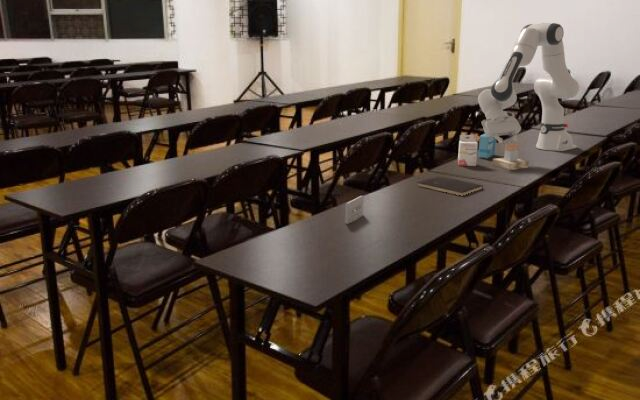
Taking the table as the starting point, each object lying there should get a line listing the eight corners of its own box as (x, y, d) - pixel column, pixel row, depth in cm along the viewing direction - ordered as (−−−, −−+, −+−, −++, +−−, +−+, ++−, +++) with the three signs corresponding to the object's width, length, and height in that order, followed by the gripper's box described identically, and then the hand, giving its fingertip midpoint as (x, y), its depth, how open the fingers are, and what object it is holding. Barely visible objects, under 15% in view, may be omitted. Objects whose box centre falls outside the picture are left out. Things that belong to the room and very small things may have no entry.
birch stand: (511, 162, 297) (511, 156, 296) (528, 167, 286) (528, 161, 285) (492, 164, 292) (492, 159, 291) (509, 170, 282) (509, 164, 281)
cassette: (360, 214, 221) (360, 195, 219) (364, 215, 220) (364, 195, 218) (344, 223, 212) (344, 203, 209) (348, 224, 211) (348, 204, 208)
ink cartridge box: (458, 165, 291) (460, 136, 287) (457, 163, 296) (459, 134, 291) (476, 166, 290) (478, 136, 286) (474, 163, 295) (476, 134, 290)
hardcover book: (461, 197, 242) (462, 192, 241) (417, 187, 258) (417, 182, 257) (482, 189, 252) (483, 184, 252) (438, 180, 268) (438, 175, 267)
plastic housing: (511, 158, 291) (513, 143, 289) (517, 160, 288) (519, 144, 285) (503, 159, 289) (505, 144, 287) (509, 161, 286) (511, 145, 283)
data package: (486, 159, 304) (488, 136, 300) (478, 158, 306) (479, 135, 303) (494, 154, 313) (496, 132, 310) (486, 153, 316) (488, 131, 312)
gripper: (483, 116, 287) (495, 139, 281) (515, 112, 295) (528, 135, 289) (476, 124, 292) (488, 146, 286) (508, 120, 300) (520, 142, 295)
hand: (508, 141), depth 288 cm, fingers open, 8 cm apart
